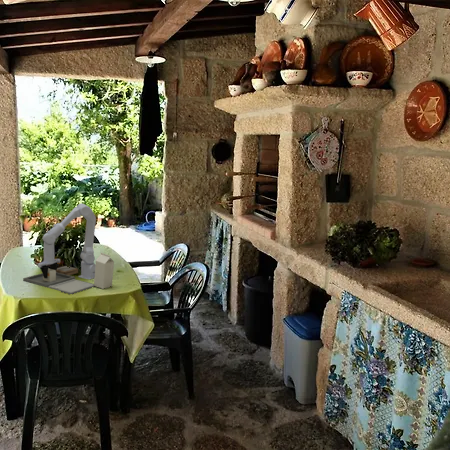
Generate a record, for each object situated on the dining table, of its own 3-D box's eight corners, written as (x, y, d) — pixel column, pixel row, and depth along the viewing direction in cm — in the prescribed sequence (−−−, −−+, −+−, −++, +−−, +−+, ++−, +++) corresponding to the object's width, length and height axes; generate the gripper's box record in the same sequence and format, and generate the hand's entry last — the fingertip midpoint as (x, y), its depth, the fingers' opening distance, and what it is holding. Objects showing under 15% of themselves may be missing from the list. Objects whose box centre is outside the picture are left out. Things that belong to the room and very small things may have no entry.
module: (55, 280, 291) (55, 270, 290) (50, 281, 287) (50, 271, 286) (48, 278, 294) (48, 268, 292) (42, 279, 290) (42, 269, 289)
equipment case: (97, 285, 286) (97, 282, 285) (70, 294, 269) (70, 291, 268) (51, 274, 304) (51, 270, 304) (23, 281, 287) (23, 278, 286)
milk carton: (102, 289, 280) (105, 256, 276) (93, 285, 284) (96, 253, 279) (112, 286, 286) (114, 254, 282) (103, 282, 290) (105, 251, 285)
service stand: (77, 273, 308) (77, 268, 307) (65, 277, 299) (65, 271, 299) (66, 270, 313) (66, 265, 312) (53, 274, 304) (53, 268, 304)
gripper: (54, 250, 296) (54, 272, 298) (33, 255, 283) (34, 278, 286) (62, 252, 292) (62, 275, 295) (42, 257, 280) (42, 280, 282)
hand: (49, 276), depth 290 cm, fingers open, 5 cm apart
